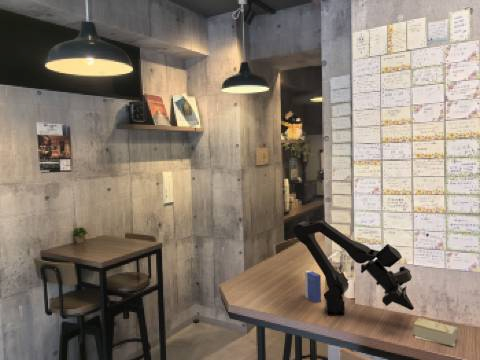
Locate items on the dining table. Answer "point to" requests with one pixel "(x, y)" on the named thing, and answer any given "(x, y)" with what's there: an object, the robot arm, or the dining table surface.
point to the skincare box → (435, 331)
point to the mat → (429, 340)
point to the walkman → (313, 286)
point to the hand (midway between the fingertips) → (412, 309)
